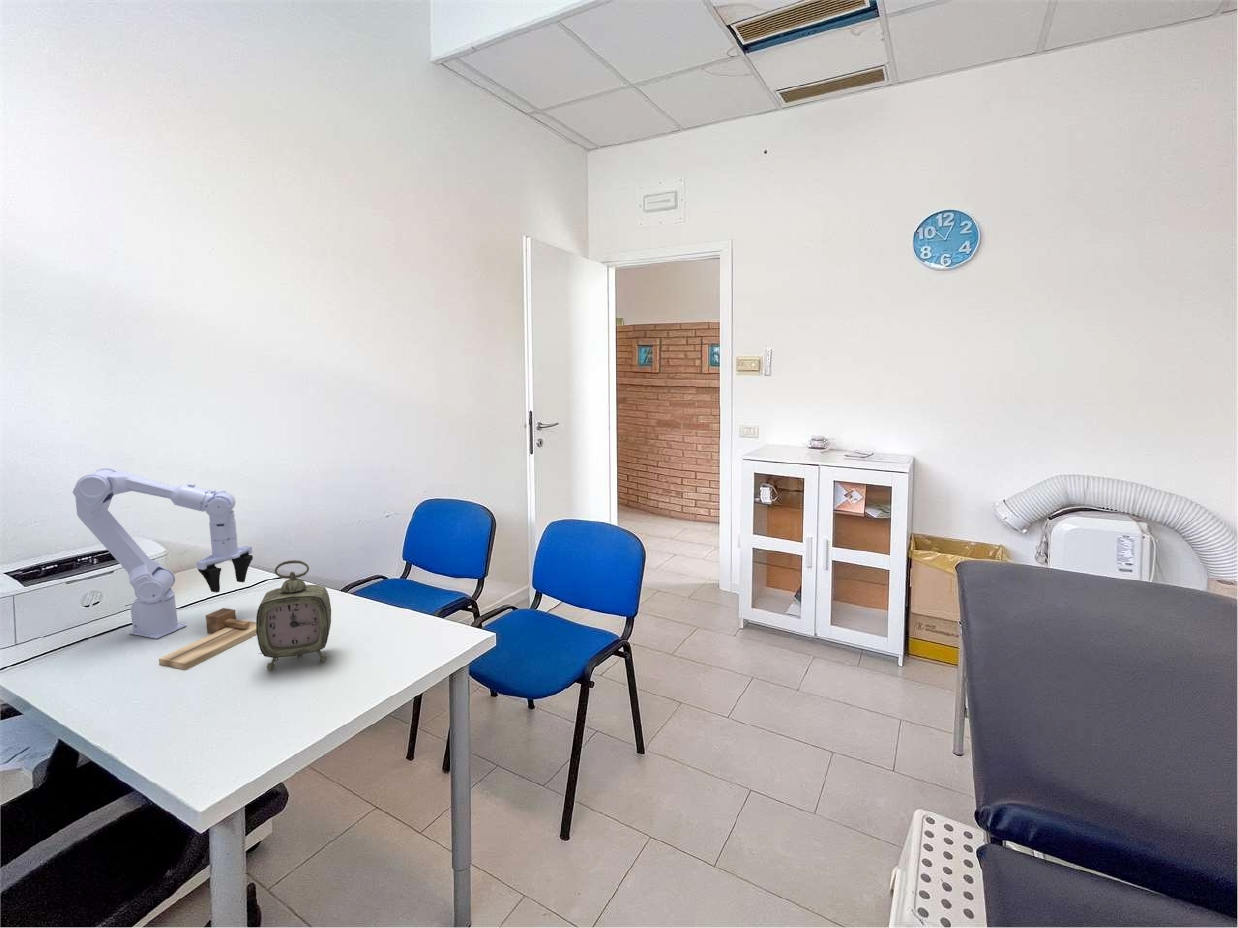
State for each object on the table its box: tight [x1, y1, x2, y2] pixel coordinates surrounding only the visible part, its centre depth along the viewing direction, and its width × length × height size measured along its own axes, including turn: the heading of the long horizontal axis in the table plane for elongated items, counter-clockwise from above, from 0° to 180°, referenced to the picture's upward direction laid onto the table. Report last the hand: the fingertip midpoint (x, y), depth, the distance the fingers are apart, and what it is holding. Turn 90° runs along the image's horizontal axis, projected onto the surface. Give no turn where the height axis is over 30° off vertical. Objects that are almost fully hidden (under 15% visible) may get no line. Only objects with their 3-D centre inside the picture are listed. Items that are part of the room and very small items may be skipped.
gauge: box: [205, 607, 250, 635], centre depth 151 cm, size 10×5×5 cm, turn 74°
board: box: [158, 619, 257, 671], centre depth 144 cm, size 8×22×2 cm, turn 165°
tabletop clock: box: [255, 559, 332, 671], centre depth 135 cm, size 14×9×25 cm, turn 112°
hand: (228, 586), depth 156 cm, fingers open, 7 cm apart
